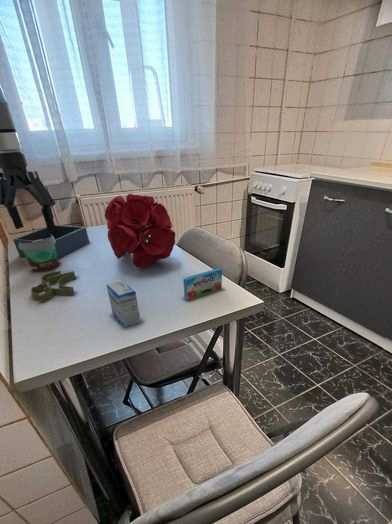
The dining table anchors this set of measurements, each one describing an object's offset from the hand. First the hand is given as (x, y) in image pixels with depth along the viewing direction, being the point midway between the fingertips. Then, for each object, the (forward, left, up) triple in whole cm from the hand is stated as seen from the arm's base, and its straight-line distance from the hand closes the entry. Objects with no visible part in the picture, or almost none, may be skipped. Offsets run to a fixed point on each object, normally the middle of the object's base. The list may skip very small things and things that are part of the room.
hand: (35, 229), depth 97 cm
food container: (0, 0, -14) cm, 14 cm away
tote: (-12, +18, -14) cm, 26 cm away
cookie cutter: (+14, -13, -14) cm, 23 cm away
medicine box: (+45, -23, -14) cm, 52 cm away
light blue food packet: (+60, -4, -14) cm, 61 cm away
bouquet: (+30, +14, -14) cm, 36 cm away
